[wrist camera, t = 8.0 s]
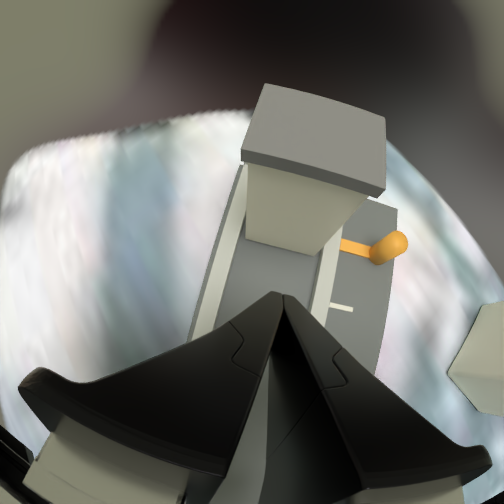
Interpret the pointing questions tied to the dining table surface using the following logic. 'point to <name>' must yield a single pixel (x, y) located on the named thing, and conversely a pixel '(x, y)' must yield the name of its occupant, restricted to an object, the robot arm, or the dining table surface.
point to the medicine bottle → (483, 361)
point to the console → (307, 293)
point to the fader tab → (309, 167)
